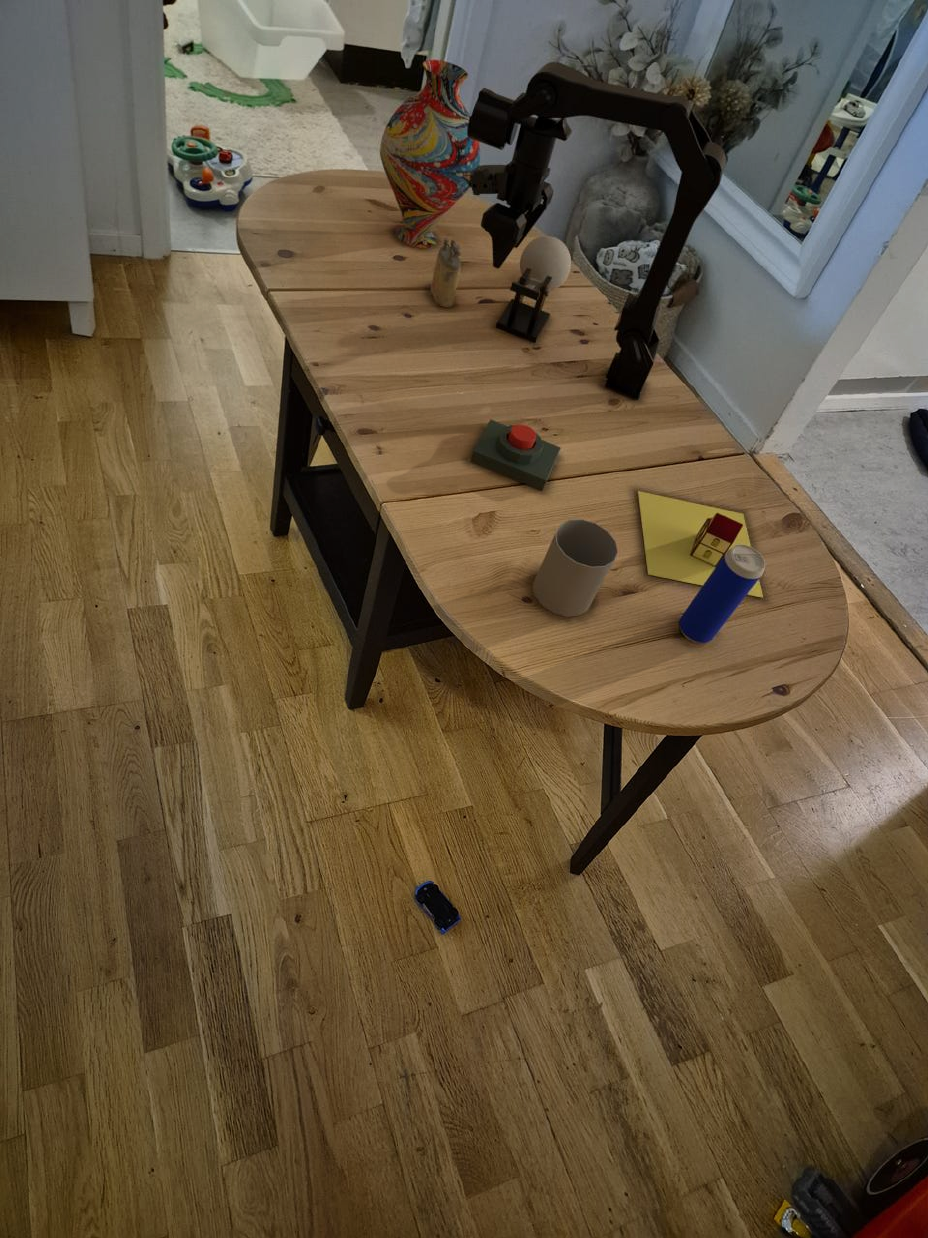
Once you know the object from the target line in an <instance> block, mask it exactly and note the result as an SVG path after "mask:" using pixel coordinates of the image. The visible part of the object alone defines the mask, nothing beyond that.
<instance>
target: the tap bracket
mask: <svg viewBox="0 0 928 1238" xmlns="http://www.w3.org/2000/svg"><path fill="white" fill-rule="evenodd" d="M531 271H532V269H530V268H526V270H525V271H524V273H523V274H522V275H521V276H519V277H518V279H517V282H516V283H518V284H521V285H523V286H527V284H528V281H529V278H530V274H531ZM551 280H552V277H550V276H547V277H546V279H545V280H544V282H543V284H542V285H541V288H540V291H539V292H540V295H539V298H538V300H537V301H536V300H535V301H536V302H535V305H534V306H532V305H529V304H526V303H525V302H523V301H524V299H525V296H523V295H521V294H518V293H516V292H515V294H514V298H511V299H510V301H509V302H508V304H507V305H506V307H505V308H504V310H503V312H502V313H501V315H500V316H499V318H498V319H497V321H496V323H495V327H494V328H495V329H497V330H500V331H503V332H505V333H508V334H510V335H512V336H515V337H518V338H520V339H523V340H525V341H527V342H530V343H533V344H536V343H537V341H538V339H539V338H540V336H541V333H542V332H543V330H544V329H545V327H546V325H547V323H548V321H549V319H550V317H551V313H549V312H548V311H544V310H543V307H544V305H545V302H546V299H547V297H549V295H550V292H551V291H550V288H549V287H550V283H551Z"/></svg>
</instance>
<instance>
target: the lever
mask: <svg viewBox="0 0 928 1238" xmlns="http://www.w3.org/2000/svg"><path fill="white" fill-rule="evenodd" d="M541 285H542V281H540V280H538V279H535V278H533V277H531V278H529V281H528V284H527V286H523V285H521V284H518V283H517V282H515V281H512V282H511V285H510V288H509V291H510V292H514V293H515V294H516V293H518V294H521V295H523V296H524V297H526V298H529V299H531V300H533V301H537V300H538V298H539V295H540V292H539V291H540V288H541Z"/></svg>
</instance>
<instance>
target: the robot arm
mask: <svg viewBox="0 0 928 1238" xmlns="http://www.w3.org/2000/svg"><path fill="white" fill-rule="evenodd" d="M535 116H536V117H535ZM576 117H592V118H596V119H601V120H605V121H611V122H617V123H620V124H626V125H630V126H635V127H640V128H645V129H651V130H654V131H661V132H663V134H664V136H665V138H666V139H667V142H668V144H669V147H670V150H671V153H672V155H673V157H674V160H675V163H676V165H677V167H678V168H679V170H680V171H681V172H680V173H681V174H680V179H679V182H678V187H677V191H676V195H675V200H674V206H673V210H672V214H671V216H670V219H669V220H668V222H667V223H668V224H667V226H666V227H665V231H664V233H663V236H662V238H661V240H660V243H659V245H658V248H657V250H656V252H655V255H654V258H653V260H652V261H651V262H652V263H651V265H650V268H649V269H648V272H647V275H646V277H645V279H644V282H643V285H642V287H641V288H640V290H639V291H638V292H637V294H636V295H634V294H632V293H631V292H628V294H627V296H626V299H625V301H624V303H623V307H622V310H621V311H620V313H619V315H618V319H617V321H616V323H615V326H614V328H613V330H614V331H615V332H616V331H617V332H616V336H615V342H616V343H617V345H618V347H619V348H620V350H619V352H617V351H616V352H614V355H613V357H612V360H611V362H610V365H609V367H608V369H607V372H606V374H605V380H606V381H605V384H604V387H605V388H606V389H608V390H611V391H612V392H613V391H614V392H616V393H619V394H621V395H623V396H625V397H629V398H631V399H632V400H633V399H634V400H636V401H637V400H639V399H640V396H641V394H642V390H643V388H644V386H645V383H646V382H647V379H648V377H649V375H650V373H651V371H652V368H653V366H654V364H655V360H656V357H657V353H658V351H659V347H660V344H661V338H660V336H659V333H658V331H657V329H656V325H657V319H658V314H659V311H660V307H661V301H662V298H663V296H664V293H665V292H666V291H665V290H666V289H667V286H668V284H669V282H670V279H671V277H672V274H673V272H674V270H675V268H676V266H677V263H678V261H679V259H680V256H681V254H682V252H683V249H684V247H685V245H686V243H687V241H688V238H689V235H690V233H691V231H692V229H693V227H694V224H695V222H696V220H697V219H698V217H699V216H700V215H701V214H702V212H703V211H704V209H705V208H706V207H707V205H708V204H709V202H710V201H711V199H712V197H713V196H714V195H715V193H716V191H717V190H718V188H719V186H720V184H721V181H722V177H723V174H724V172H725V167H726V164H727V157H726V154H725V151H724V149H723V148H722V147H721V146H720V145H719V144H718V143H716V142H713V141H712V140H711V137H710V136H709V133H708V132H707V130H706V128H705V127H704V125H703V124H702V122H701V121H700V120H699V119H698V117H697V115H696V114H695V112H694V110H693V109H692V105H691V104H690V101H689V100H688V99H687V98H686V97H685V96H682V95H669V94H664V93H658V92H653V91H649V90H643V89H639V88H633V87H628V86H623V85H618V84H613V83H607V82H602V81H598V80H595V79H594V78H591V77H589V76H587V75H586V74H585V73H583V72H582V71H580V70H578V69H576V68H573V67H572V66H569V65H566V64H564V63H562V62H559V61H549V62H546V63H545V64H544V65H543V66H542V67H541V68H540V69H538V71H537V72H536V73H535V74H534V75H533V76H532V77H531V78H530V80H529V82H528V83H527V86H526V90H525V92H521V93H520V94H519V95H518V96H517V97H516V98H515V99H512V98H509V97H507V96H504V95H501V94H498V93H496V92H495V91H494V90H492V89H490V88H486V87H483V88H481V90H479V92H478V96H477V100H476V101H475V103H474V106H473V109H472V112H471V115H470V118H469V122H468V129H467V136H468V138H470V139H473V140H476V141H478V142H479V143H481V144H483V145H486V146H489V147H492V148H495V149H496V150H500V151H503V150H504V149H505V147H506V145H509V146H512V145H513V143H514V141H515V139H516V142H515V146H514V150H513V154H512V159H511V161H510V162H509V163H507V164H481V165H479V166H478V167H477V168H476V169H475V170H474V171H472V172H471V175H470V181H469V183H468V185H469V187H470V188H471V191H472V195H474V196H480V195H496V199H497V200H499V201H501V202H506V203H505V204H506V205H505V204H502V203H499V202H496V203H494V204H492V205H491V206H489V207H488V208H487V209H486V210H485V211H484V212H483V214H482V218H481V222H480V227H481V228H482V229H483V231H485V232H486V233H488V234H489V235H490V238H491V246H492V248H491V249H492V267H494V269H497V270H499V269H500V268H501V267H502V266H503V264H504V263H505V261H506V260H507V258H508V257H509V256H510V254H511V252H512V251H513V250H514V249H518V248H519V247H520V245H521V244H522V242H523V241H524V239H525V238H526V237H527V236H528V235H529V233H530V231H532V229H533V227H534V226H535V225H536V223H537V222H538V221H539V220H540V219H541V217H542V215H543V214H544V213H545V211H546V210H547V208H548V206H549V205H550V204H551V203H552V200H553V199H552V198H553V196H554V189H553V186H552V184H551V183H550V182H547V181H545V180H546V179H548V177H550V172H551V168H549V165H550V162H551V159H552V155H553V152H554V148H555V145H556V141H557V140H560V141H563V142H567V140H568V139H569V138H570V136H571V135H572V131H573V130H572V128H571V127H570V125H569V123H568V122H567V121H568V120H567V118H576ZM518 129H519V130H518ZM517 132H518V134H517ZM516 135H517V137H516Z"/></svg>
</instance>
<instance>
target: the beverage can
mask: <svg viewBox="0 0 928 1238" xmlns="http://www.w3.org/2000/svg"><path fill="white" fill-rule="evenodd" d="M765 567H766V560H765V558H764V557H763V555H762V554H761V553H760V552H759V551H758V550H757V549H755V548H754V547H752V546H751V547H750V546H747V545H735V546H734V547H732V548H731V549H729V550H728V551H727V552H726V553H725V555H724V556H723V557H722V559H721V560H720V562H719V563H718V565H717V566H716V568H715V569H714V570H713V572H712V573H711V575H710V576H709V578H708V579H707V580H706V582H705V583H704V585H701V588H700V589H699V590H698V592H697V593H696V595H695V596H694V598H693V599H692V601H691V602H690V603H689V605H688V606H687V608H686V609H685V610H684V612H683V613H682V615H681V616H680V618H679V621H678V625H679V629H680V631H681V633H682V635H683V636H684V637H685V638H686V639H687V640H689V641H690V642H692V643H696V644H707V643H710V642H711V641H712V640H714V638H715V637H716V636H717V634H718V633H719V632H720V630H721V629H722V628H723V627H724V626H725V624H726V622H728V621H729V618H731V616H732V615H733V613H734V612H735V611H736V609H737V608H738V607H739V606H740V604H741V603H742V602H743V601H744V599H745V598H746V596H747V594H748V593H749V591H750V590H751V589H752V587H753V586H754V585H755V584H756V582H757V581H758V580H759V581H760V579H761V577H762V576H763V574H764V571H765Z"/></svg>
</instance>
